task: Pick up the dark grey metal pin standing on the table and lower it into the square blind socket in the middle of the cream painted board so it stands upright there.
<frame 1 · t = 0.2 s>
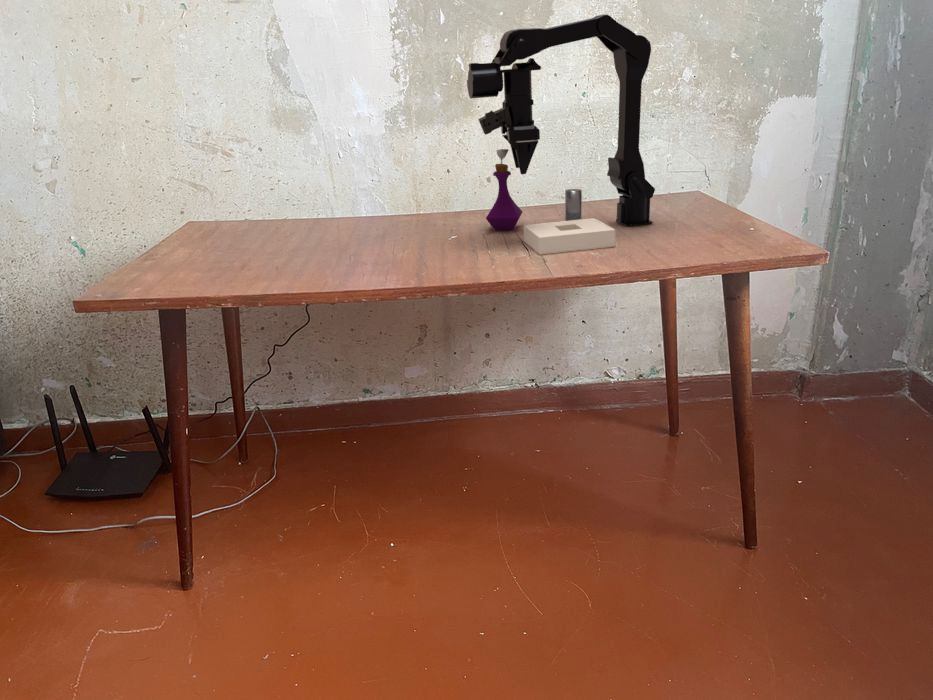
hand: (520, 170, 154), 14 cm above the table, fingers open, 9 cm apart
perfume bottle: (504, 229, 165), on the table
socket board: (568, 243, 149), on the table
pin: (573, 230, 160), on the table
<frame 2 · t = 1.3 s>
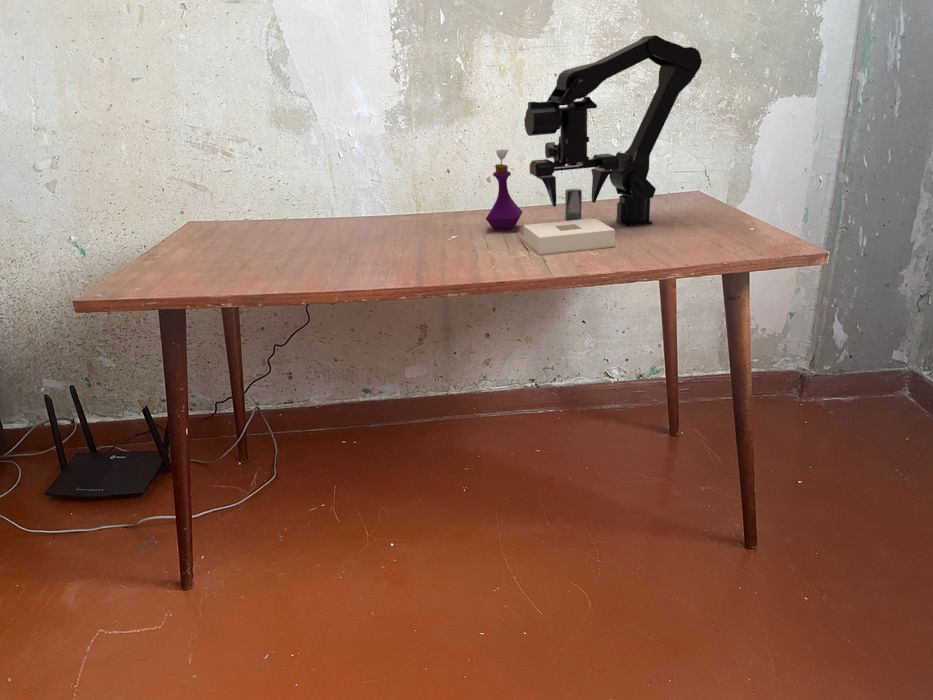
hand: (573, 204, 158), 6 cm above the table, fingers open, 9 cm apart
nothing on the table moved.
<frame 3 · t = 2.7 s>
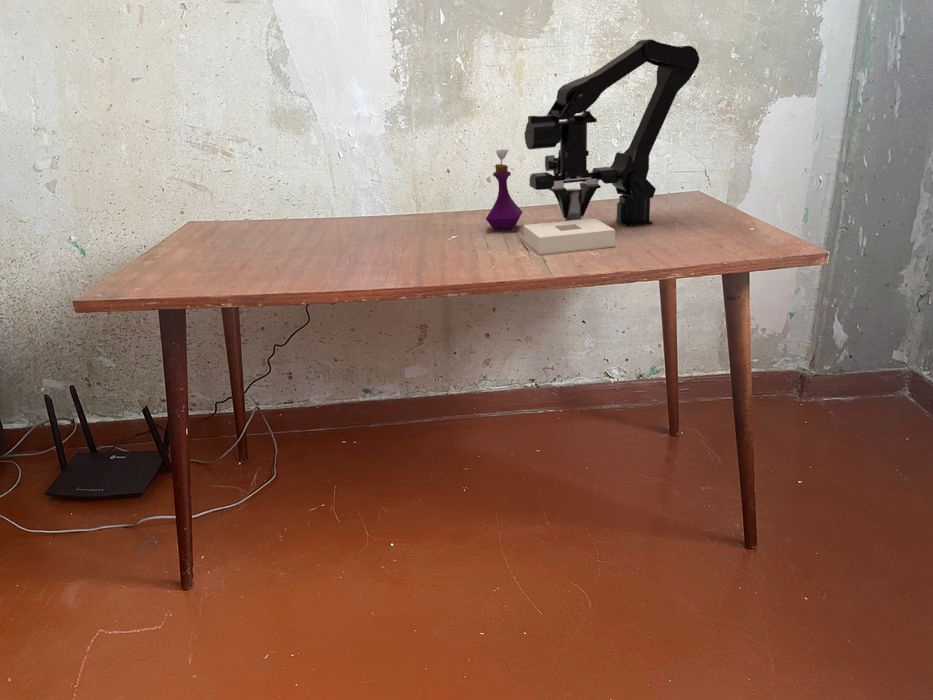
hand: (573, 217, 159), 3 cm above the table, fingers closed on pin, 4 cm apart
pin: (573, 230, 160), on the table, touching gripper
everything else where it was.
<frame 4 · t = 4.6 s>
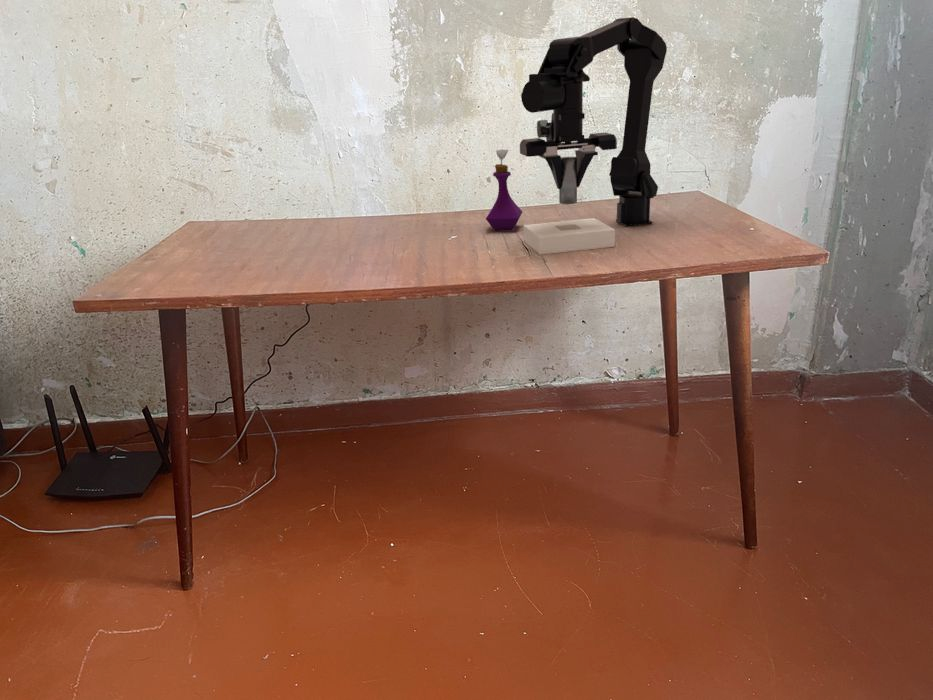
hand: (568, 187, 145), 12 cm above the table, fingers closed on pin, 4 cm apart
pin: (568, 202, 146), point 9 cm above the table, touching gripper
everything else where it was.
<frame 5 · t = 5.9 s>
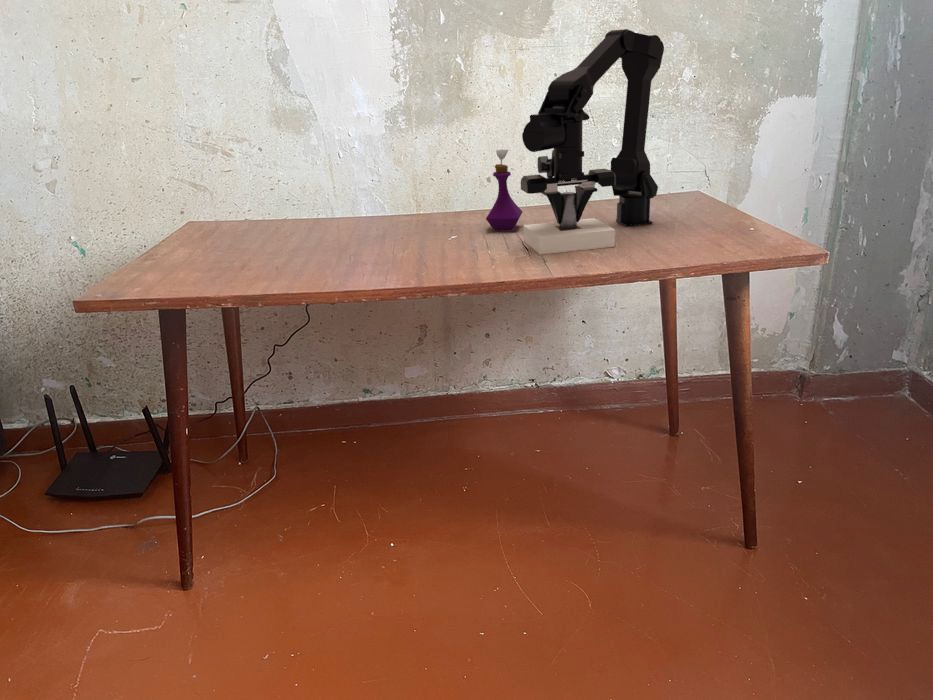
hand: (568, 222, 148), 4 cm above the table, fingers closed on pin, 4 cm apart
pin: (568, 236, 149), point 1 cm above the table, touching gripper
everything else where it was.
when the fingers open (4 cm above the table, at t = 6.6 s): pin stays where it is, resting on socket board.
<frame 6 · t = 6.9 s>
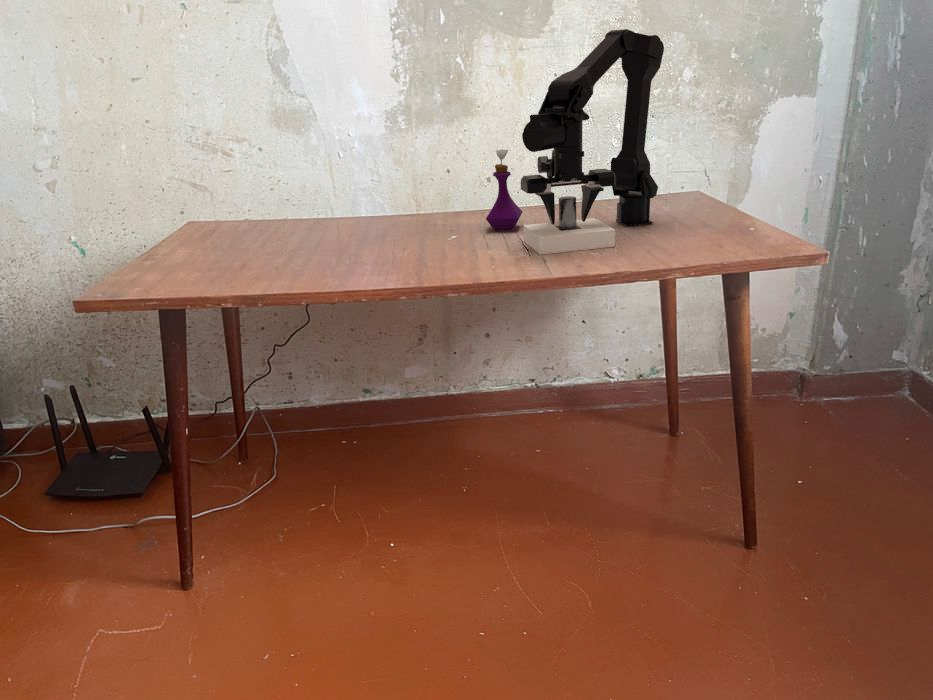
hand: (568, 222, 148), 4 cm above the table, fingers open, 6 cm apart
pin: (568, 240, 149), point 1 cm above the table, touching socket board
everything else where it was.
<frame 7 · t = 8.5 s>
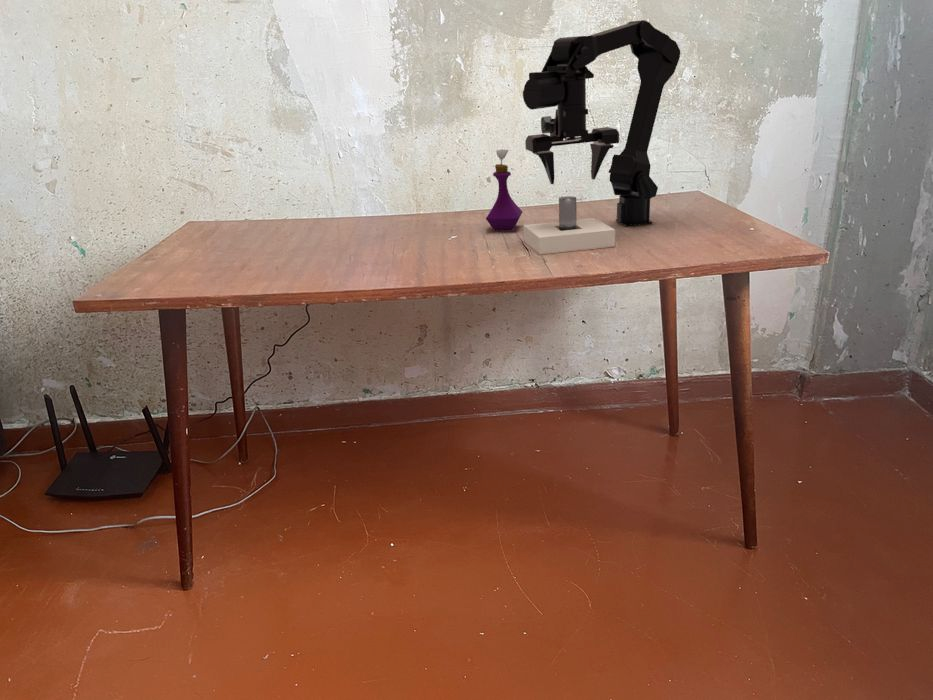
hand: (572, 181, 150), 12 cm above the table, fingers open, 9 cm apart
nothing on the table moved.
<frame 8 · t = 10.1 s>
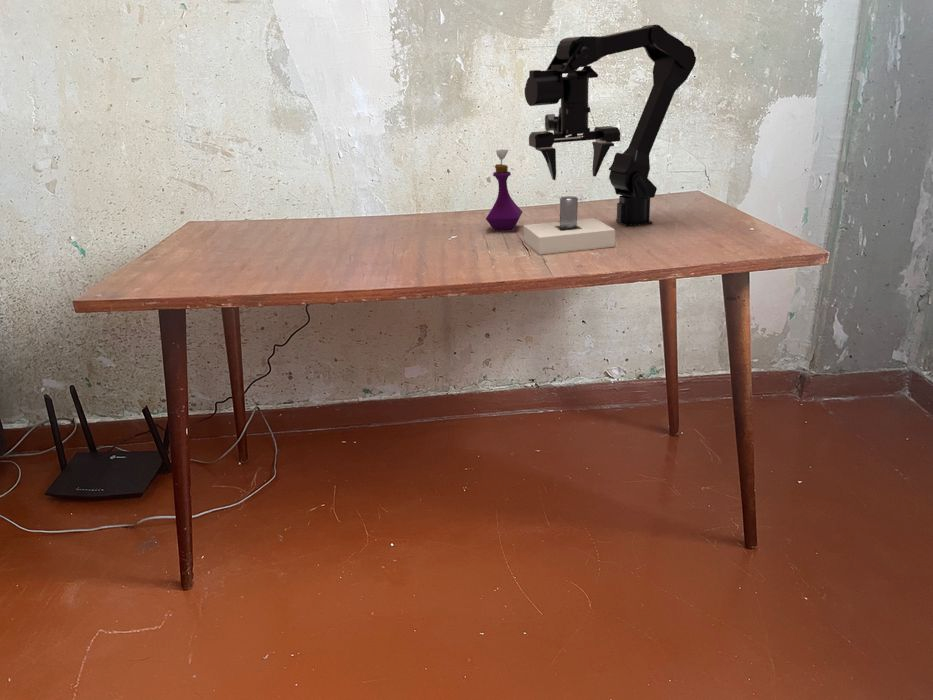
hand: (574, 178, 153), 12 cm above the table, fingers open, 9 cm apart
nothing on the table moved.
at the end: pin 0.0 cm off-centre on the socket board, point 0.6 cm above the socket board's base; pin tilted 1°; the gripper is holding nothing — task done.
